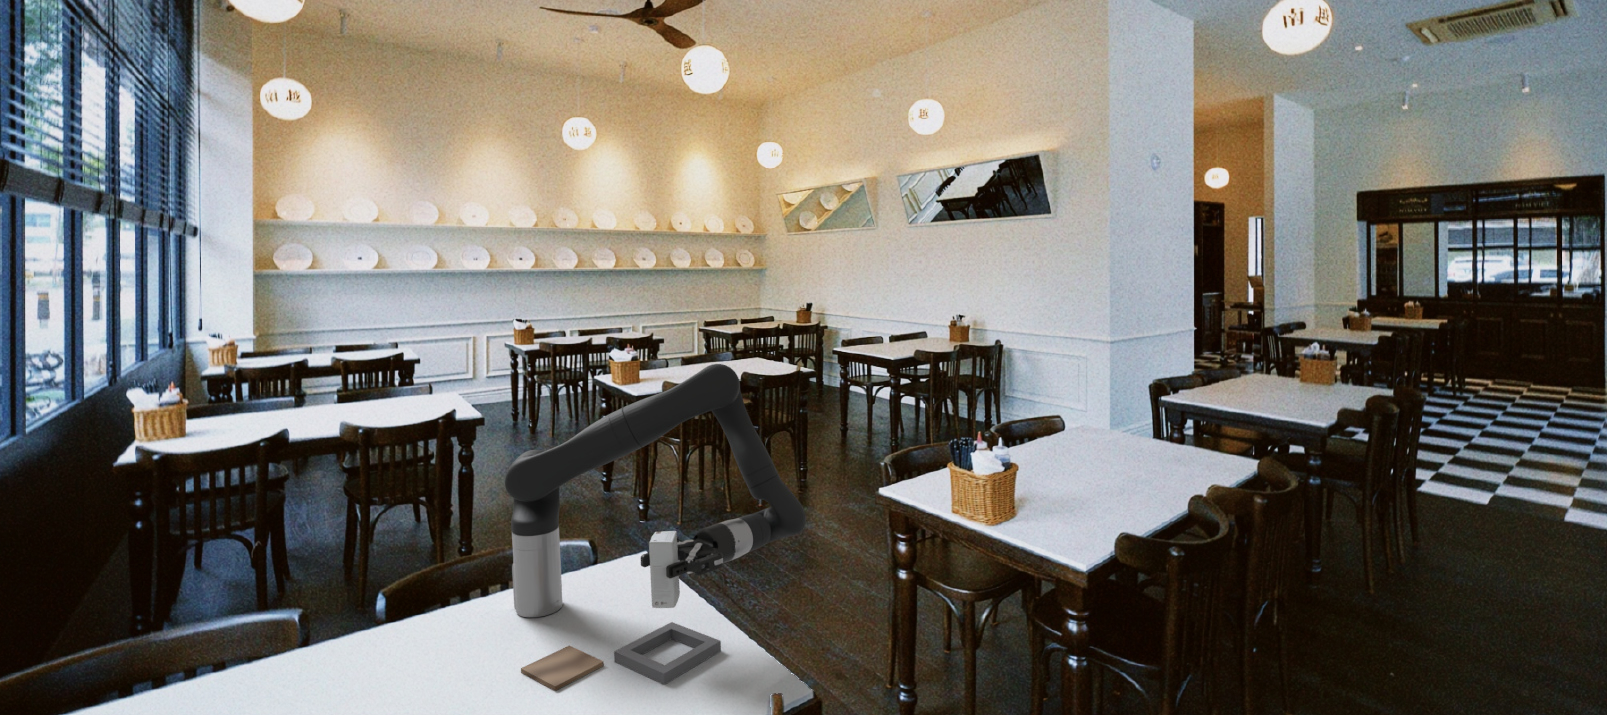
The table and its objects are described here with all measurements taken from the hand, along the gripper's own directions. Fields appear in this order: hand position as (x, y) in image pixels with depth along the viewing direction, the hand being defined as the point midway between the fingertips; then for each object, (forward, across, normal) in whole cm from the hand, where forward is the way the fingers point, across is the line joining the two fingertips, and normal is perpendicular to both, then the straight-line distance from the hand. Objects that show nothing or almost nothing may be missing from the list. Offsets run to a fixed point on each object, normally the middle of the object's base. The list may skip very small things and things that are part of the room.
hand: (654, 567), depth 131 cm
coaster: (+13, -10, +18) cm, 24 cm away
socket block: (-2, 0, +18) cm, 18 cm away
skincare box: (-2, 0, +7) cm, 8 cm away
